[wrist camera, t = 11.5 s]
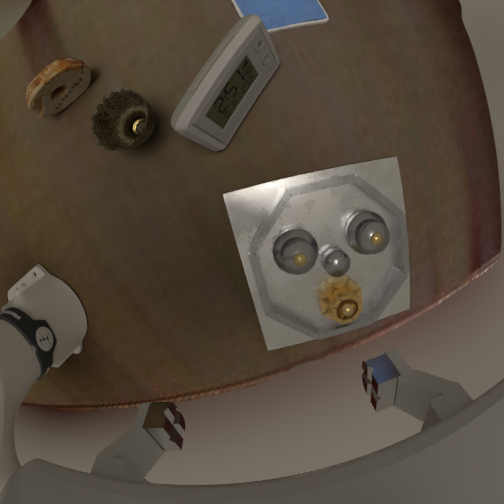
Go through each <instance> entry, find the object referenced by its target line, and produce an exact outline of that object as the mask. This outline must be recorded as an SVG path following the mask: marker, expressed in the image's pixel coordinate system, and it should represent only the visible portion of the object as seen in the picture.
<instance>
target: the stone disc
mask: <svg viewBox="0 0 504 504" xmlns="http://www.w3.org/2000/svg"><path fill="white" fill-rule="evenodd" d="M90 81H91V70H90V68H89V67H88V66H87V65H86V64H85V63H84V62H83V61H81V60H78V59H74V58H64V59H59V60H56V61H54V62H53V63H52V64H50V65H48V66H47V67H46V68H45V69H44V70H43V71H41V72H40V73H39V74H38V75H37V76H36V77H35V78H34V80H33V81H32V82H31V83H30V84H29V85H28V88H27V90H26V102H27V106H28V108H29V110H31V111H33V112H34V113H36V114H38V115H39V116H40V117H48V116H51V115H54V114H56V113H58V112H60V111H62V110H63V109H65V108H66V107H67V106H69V105H70V103H72V102H73V101H75V100H76V99H77V98H78V97H79V96H80V95H81V94H83V93H84V92H85V90H86V89H87V87H88V86H89V84H90Z"/></svg>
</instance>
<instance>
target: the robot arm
mask: <svg viewBox="0 0 504 504" xmlns="http://www.w3.org/2000/svg"><path fill="white" fill-rule="evenodd" d="M8 300H9V302H8V303H7V304H6V305H4V306H3V307H2V312H1V313H0V504H504V379H502V380H501V381H500V382H498V383H497V384H496V385H495V386H493V387H492V388H490V389H489V390H488V391H486V392H485V393H484V394H482V395H481V396H479V397H478V398H477V399H475V400H473V399H472V398H471V397H470V396H469V394H468V393H467V392H466V391H465V389H464V388H463V387H462V386H461V385H460V384H459V383H457V382H454V381H450V380H447V379H444V378H441V377H437V376H434V375H431V374H428V373H425V372H422V371H419V370H416V369H415V370H412V369H411V368H410V366H409V365H408V364H407V362H406V361H405V360H404V359H403V357H402V356H401V355H400V353H399V352H398V351H397V350H396V349H392V350H390V351H387V352H385V353H382V354H380V355H377V356H374V357H372V358H369V359H366V360H363V362H362V368H363V370H364V373H363V374H362V381H363V386H364V389H365V391H366V393H367V394H368V395H370V396H371V403H372V405H373V407H374V409H375V411H376V412H377V411H380V410H383V409H385V408H388V407H390V406H393V405H394V406H395V407H397V408H399V409H401V410H402V411H404V412H406V413H408V414H410V415H411V416H413V417H415V418H417V419H419V420H421V421H423V422H424V423H423V426H422V428H421V431H420V432H419V433H417V434H415V435H413V436H411V437H408V438H406V439H404V440H402V441H400V442H398V443H395V444H393V445H390V446H388V447H386V448H383V449H381V450H378V451H375V452H373V453H370V454H368V455H365V456H362V457H359V458H356V459H353V460H350V461H347V462H344V463H340V464H337V465H334V466H330V467H326V468H322V469H319V470H315V471H310V472H306V473H302V474H297V475H292V476H287V477H282V478H276V479H269V480H262V481H254V482H246V483H234V484H219V485H170V484H155V483H150V482H148V481H147V480H146V479H145V478H144V477H145V475H146V474H147V473H148V472H149V471H150V470H151V468H152V467H153V466H154V465H155V463H156V462H157V461H158V460H159V459H160V457H161V456H162V455H163V454H164V451H181V450H182V445H183V438H182V437H181V435H182V434H183V433H184V432H185V420H184V417H183V415H182V414H181V413H180V412H178V411H177V410H176V408H177V406H176V405H175V403H174V402H152V403H142V404H141V405H140V407H139V410H138V412H137V415H136V418H135V421H134V424H133V426H132V428H129V429H128V430H127V431H125V433H123V434H122V435H121V436H119V437H118V438H117V439H116V440H115V441H114V442H112V443H111V444H110V445H109V446H107V447H106V448H105V449H104V450H103V451H101V452H100V453H99V454H98V455H97V457H96V460H95V462H94V465H93V468H92V470H91V473H85V472H81V471H77V470H73V469H70V468H66V467H63V466H59V465H56V464H53V463H50V462H47V461H44V460H41V459H34V460H32V461H29V462H27V463H26V464H24V465H23V466H21V465H20V463H19V460H18V458H17V454H16V450H15V443H14V424H15V419H16V414H17V411H18V409H19V406H20V405H21V403H22V401H23V399H24V398H25V396H26V394H27V393H28V391H29V390H30V389H31V387H32V386H33V384H34V383H35V382H36V380H39V379H41V378H42V377H43V376H44V375H46V373H47V372H48V371H49V369H50V367H59V366H60V365H61V364H62V363H63V362H64V361H65V360H66V359H67V358H68V357H69V356H70V355H71V354H72V353H74V354H79V353H80V352H81V351H82V340H83V338H84V336H85V334H86V331H87V319H86V315H85V311H84V309H83V306H82V304H81V302H80V301H79V299H78V297H77V296H76V294H75V293H74V292H73V291H72V289H71V288H70V287H69V286H68V285H67V284H65V283H64V282H63V281H62V280H60V279H58V278H56V277H54V276H52V275H51V274H49V273H48V272H47V271H46V269H45V268H44V267H43V266H41V265H39V264H38V265H36V266H35V267H34V268H33V269H32V270H30V271H29V272H28V273H27V274H26V275H25V276H24V277H23V278H21V279H20V280H19V281H18V282H17V283H16V284H15V285H14V286H13V287H12V288H11V289H10V290H9V291H8Z"/></svg>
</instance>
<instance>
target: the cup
mask: <svg viewBox="0 0 504 504" xmlns="http://www.w3.org/2000/svg"><path fill="white" fill-rule="evenodd" d="M103 103H104V104H98V105H97V109H98V111H97V112H96V113H94V114H93V115H92V117H91V122H92V125H93V127H91V132H92V133H94V134H96V136H97V139H98V140H99V141H97V144H98V145H99V146H103V148H104V149H105V150H109V151H115V150H117V151H119V150H124V149H130V148H134V147H137V146H139V145H141V144H142V143H144V142H145V141H146V140H147V139H148V138H149V137H150V136H151V134H152V132H153V130H154V126H155V115H154V112H153V110H152V108H151V106H150V105H149V104H148V103H147V102H146V101H145V99H144V98H143V97H142V96H141V95H140V94H139V93H137V92H135V91H134V90H132V89H129V90H127V91H126V90H124V89H120V93H119V92H112V93H110V95H109V96H106V97H104V98H103ZM142 121H143V122H145V127H144V129H143V130H142V133H140V132H138V131H137V129H136V127H137V124H138V123H139V122H142Z"/></svg>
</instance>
